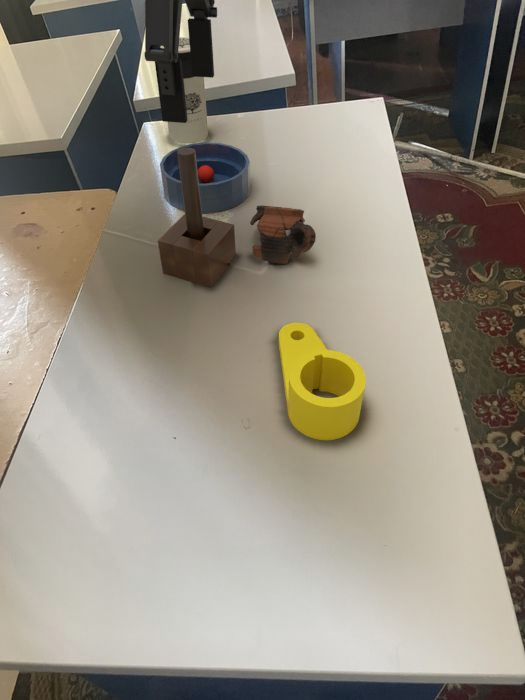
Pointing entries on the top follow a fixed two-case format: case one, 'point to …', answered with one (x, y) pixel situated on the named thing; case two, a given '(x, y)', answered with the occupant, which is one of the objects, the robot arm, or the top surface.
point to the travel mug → (190, 102)
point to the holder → (197, 251)
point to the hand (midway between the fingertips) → (190, 97)
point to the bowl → (224, 187)
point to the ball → (205, 174)
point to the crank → (319, 384)
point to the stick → (191, 192)
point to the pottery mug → (281, 234)
